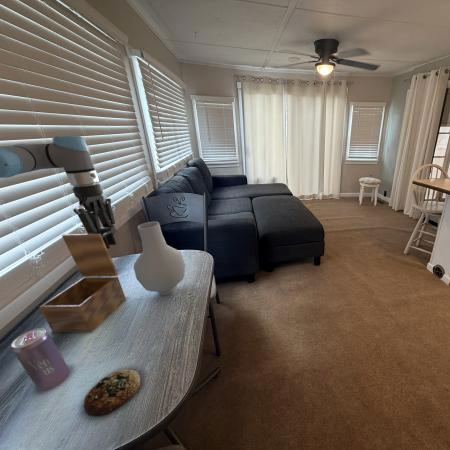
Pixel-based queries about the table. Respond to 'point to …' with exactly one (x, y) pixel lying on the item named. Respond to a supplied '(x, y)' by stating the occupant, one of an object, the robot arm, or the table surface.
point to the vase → (158, 261)
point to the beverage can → (40, 358)
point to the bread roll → (111, 392)
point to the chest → (83, 304)
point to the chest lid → (91, 253)
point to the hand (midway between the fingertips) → (109, 246)
